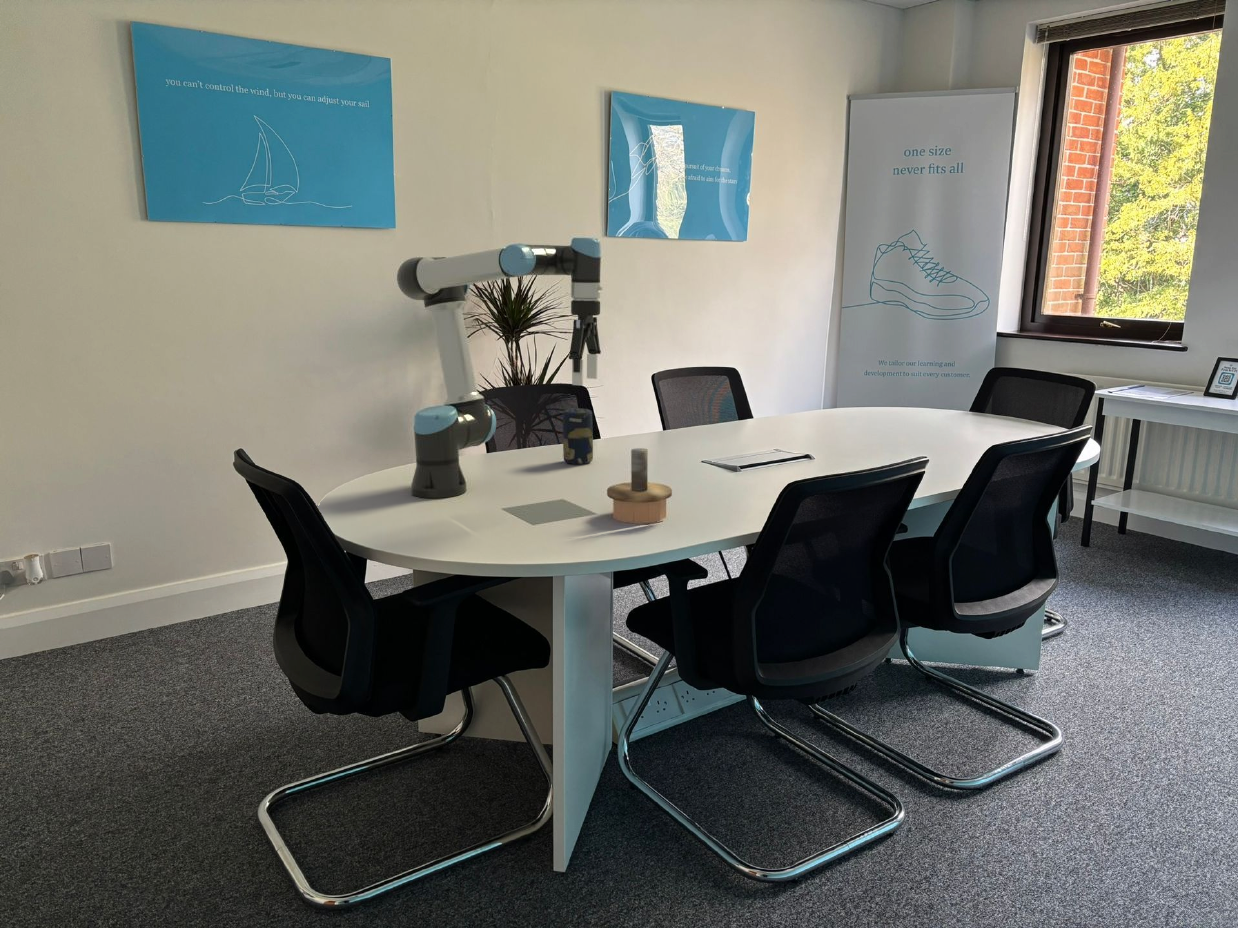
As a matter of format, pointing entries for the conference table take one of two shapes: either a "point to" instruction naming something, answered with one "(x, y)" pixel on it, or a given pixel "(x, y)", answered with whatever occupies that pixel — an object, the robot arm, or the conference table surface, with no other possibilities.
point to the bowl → (639, 511)
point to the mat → (548, 511)
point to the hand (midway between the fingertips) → (585, 381)
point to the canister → (577, 436)
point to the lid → (639, 483)
